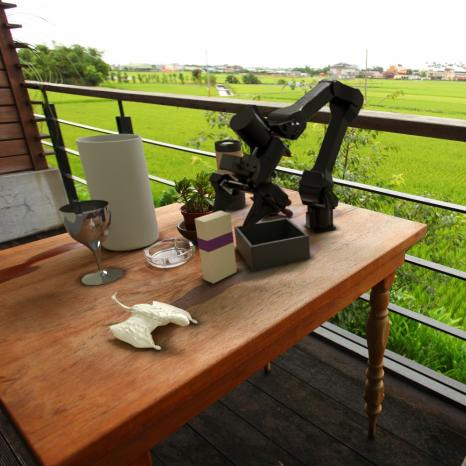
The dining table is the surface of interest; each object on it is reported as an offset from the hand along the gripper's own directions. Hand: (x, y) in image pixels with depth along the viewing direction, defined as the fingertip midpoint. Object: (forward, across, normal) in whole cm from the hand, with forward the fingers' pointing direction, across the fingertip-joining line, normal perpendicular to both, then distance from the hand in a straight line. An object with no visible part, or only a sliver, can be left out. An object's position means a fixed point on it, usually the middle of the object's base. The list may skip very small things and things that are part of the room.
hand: (227, 224), depth 78 cm
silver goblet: (+20, -19, -5) cm, 28 cm away
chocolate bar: (+10, 0, +5) cm, 11 cm away
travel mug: (-13, -33, +28) cm, 45 cm away
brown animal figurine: (-14, -19, +29) cm, 37 cm away
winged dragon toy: (+22, +4, -8) cm, 24 cm away
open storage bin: (0, +1, +15) cm, 15 cm away
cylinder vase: (+10, -32, +4) cm, 34 cm away
